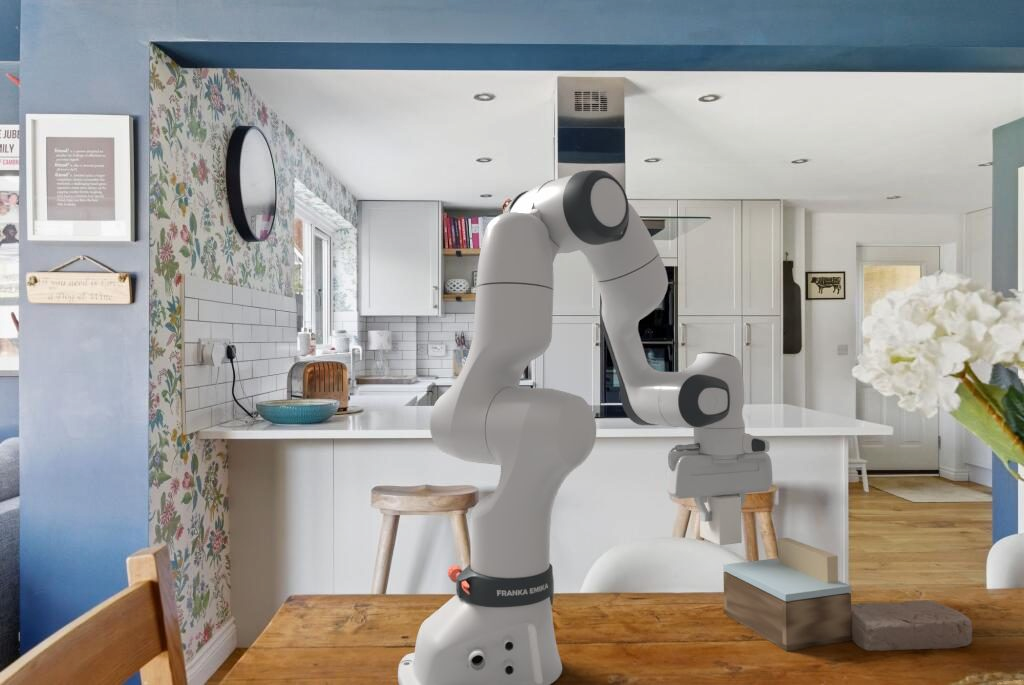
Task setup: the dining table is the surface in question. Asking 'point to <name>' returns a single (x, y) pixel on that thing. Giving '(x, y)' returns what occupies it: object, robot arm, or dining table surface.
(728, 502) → the block
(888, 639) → the brick
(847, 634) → the dark wood box
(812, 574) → the lid
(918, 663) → the dining table surface
